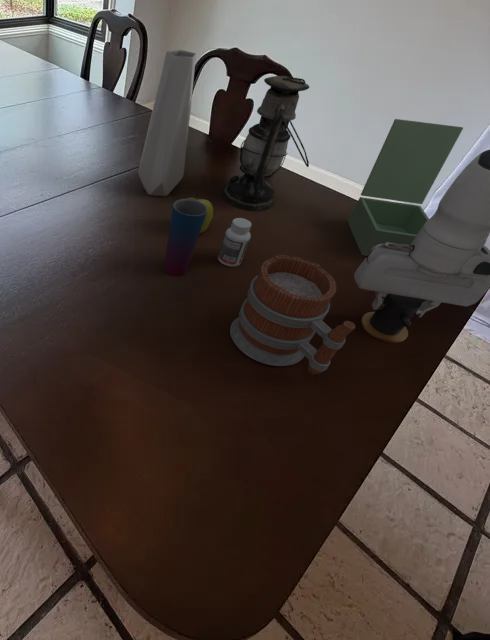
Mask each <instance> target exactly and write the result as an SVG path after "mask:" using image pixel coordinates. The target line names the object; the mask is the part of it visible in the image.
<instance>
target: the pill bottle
mask: <svg viewBox="0 0 490 640" xmlns="http://www.w3.org/2000/svg"><path fill="white" fill-rule="evenodd" d="M251 227H252V222H251V221H250V220H248V219H246V218H243V217H236V218H234V219H233V220H232V223H231V224H230V227H228V228H227V229H226V231H225V234H224V236H223V239H222V243H221V245H220V249H219V253H218V256H217V259H218V261H219V262H220V263H221V264H222V265H224V266H226V267H230V268H231V267H232V268H234V267H238V266H240V265H241V264H242V261H243V259H244V256H245V254H246V251H247V248H248V247H249V246H248V245H249V243H250V241H251V236H252V235H251V232H250V231H251Z"/></svg>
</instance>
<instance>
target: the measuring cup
mask: <svg viewBox="0 0 490 640" xmlns="http://www.w3.org/2000/svg"><path fill="white" fill-rule="evenodd" d="M383 299H384V300H385V303H386V306H385V307H384V308H383V310H382V311H380V310H375V311H374V312H375V313H374V314H373V316H372V317H371V318H370V324H371V325H372V327H373V328H374V329H376V330H377V331H379V332H381V333H383V334H386V335H397V334H399V333H400V332H401V330H402V329H403V328H404V327H406V328H408V327H409V328H410V326H411V325H412V322H411V320H412V318H413V317H414V316H413V315H414V314H415V313H416V312H417V310H418V309H419V308H420V307H421V304H422V303H423V302H422V301H421V299H419V298H413V297H407V296H401V295H395V294H389V293H388V294H387V295H386V297H384V298H383Z"/></svg>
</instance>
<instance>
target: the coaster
mask: <svg viewBox="0 0 490 640" xmlns="http://www.w3.org/2000/svg"><path fill="white" fill-rule="evenodd" d="M374 313H375V311H369V312H366V313H364V314H363V315H362V317H361V319H360V324H361V326H362V328H363V329H364V330H365V331H366V333H368V334H369V335H371V336H372V337H373V338H375V339H377V340H380V341H382V342H385V343H391V344H399V343H402V342H404V341H406V340H407V338H408V337H409V331H408V327H404V328H403V329H402V330H401V332H400V333H399V334H397V335H386V334H383V333H381V332H379V331H377V330H376V329H374V328H373V327H372V325H371V324H370V318H371V317H372V316H373V314H374Z"/></svg>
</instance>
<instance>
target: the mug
mask: <svg viewBox="0 0 490 640" xmlns="http://www.w3.org/2000/svg"><path fill="white" fill-rule="evenodd" d="M336 292H337V284H336V281H335V278H334V277H333V275H331V274H330V273H329V272H328V271H327V270H325V269H324V268H323V267H321V265H320V264H319V263H316V262H312V261H309V260H305V259H302V258H301V257H299V256H288V254H280V255H279V254H278V255H275V256H274V257H272V258H269V259H267V260H265V261H264V262H263V263H262V265H261V268H260V270H259V273H258V275H256V276H255V277H254V278H253V279H252V280H251V283H250V285H249V288H248V290H247V298H246V299H245V300H243V303H242V304H241V308H240V310H239V312H238V317H236V318H235V319H234V320H233V321H232V322H231V324H230V330H229V332H230V333H229V334H230V337H231V340H232V342H233V343H234V344H235V346H236V347H237V348H238V349H239V351H241V352H242V353H243V354H244V355H246V356H247V357H248V358H250V359H252V360H254V361H256V362H258V363H261V364H264V365H267V366H274V367H286V366H292V365H295V364H298V363H300V361H302V360H303V359H304V357H305V358H307V359H308V365H307V373H308V374H309V375H312V376H316V375H319V374H321V373H323V372H324V371H327V370H328V368H329V366H330V365H331V360H332V358H333V357H334V356H335V354H336V353H337V351H338V350H340V349H342V348H343V346H344V344H345V343H346V337H347V336H348V335H349V334H350V333H352V331H354V330H355V328H356V325H355V323H354V322H352V321H349V320H345V321H344V322H343V323H342V324H339V325H336V327H335V328H331V327H330V326H328V324H326V323H325V322H324V319H325V317H326V316H327V314H328V313H329V311H330V307H331V300H332V299H333V297H334V296H335V294H336ZM315 334H317V335H318V336H320V337H321V338H322V343H321V345H320V347H319V348H318V349H316V348H315V347H314V346H313V344H311V343H310V342H311V340H312V339H313V338H314V335H315Z"/></svg>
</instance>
